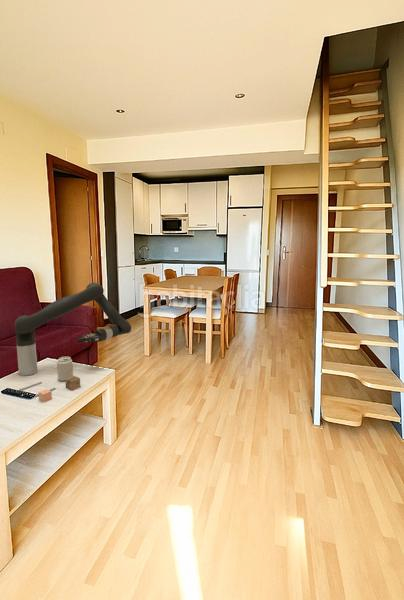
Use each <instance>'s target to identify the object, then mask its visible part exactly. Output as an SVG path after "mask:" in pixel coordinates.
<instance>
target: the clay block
mask: <svg viewBox="0 0 404 600" xmlns="http://www.w3.org/2000/svg"><path fill="white" fill-rule="evenodd" d="M37 393H38V394H39V396H38V401H40V402H42V403H46V402H47V401H50V400H53V396H52V391H50V389H47V388H46V389H43V390H40V391H38V392H37Z"/></svg>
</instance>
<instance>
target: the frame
mask: <svg viewBox="0 0 404 600" xmlns="http://www.w3.org/2000/svg"><path fill="white" fill-rule="evenodd" d="M40 384H43V382H42V381H39V382H36V383H33V384H31V385H28V386H25V387H22V388H20V389H19V388H18V390H19V391H23V392H26V391H25V390H28V389H30V388H33V387H36V386H37V385H40ZM56 389H57V388H56V387H53V388H50V389H49V390H50V391H51V392H52V391H55V390H56ZM19 391H18V392H19ZM34 395H35V396H34ZM34 395H33V396H34V397H35V398H37V397H39V394H37V393H36V394H34ZM34 397H32V398H31V399H34Z"/></svg>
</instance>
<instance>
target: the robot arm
mask: <svg viewBox="0 0 404 600" xmlns="http://www.w3.org/2000/svg"><path fill="white" fill-rule="evenodd" d="M104 290H105V289H104V288H103V286H102V285H101V284H99V283H98V282H91V283H89V284H87V286H86V288H85V289H83V290H81V291H80V292H77V293H74V294H70V295H67V296H64V297H61V298H58V299H56V300H55V301H53V302H51V303H49V304H48V305H46V306H45V307H44V308H42V309H40V310H39V311H37V312H35V313H33V314H29V315H28V314H27V315H26V314H25V315H23V314H22V315H20V316H18V317H17V318H16V319H15V322H14V330H15V340H16V341H15V343H16V353H17V367H18V375H19V376H22V377H23V376H24V377H27V376H33V375H35V374H37V373H38V359H37V348H36V347H37V346H36V334H35V329H36V330H37V328H39V327H41V326H43V325H44V324H45V323H49V322H50V321H53V320H56V319H58V318H60V317H62V316H64V315H66V314H68V313H71V312H72V311H74V310H75V309H77V308H79V307H82V305H85V304H87V303H91V302H92V301H95V302H96V304H97V305H98V306H99V307H100V309H101V310H102V312H103V313H104V314H105V315H106V317H107V318H108V319H109V321H110V322H111V323H112V324H113V325H111V326H107V327H102V328H98V329H95V330H94V331H93V333H89V334H88V333H84V334H83V335H82V336H81V337H80V338H77V344H81V343H92V342H93V343H96V342H97V343H100V342H103V341H104V342H105V341H107V340H110V339H112V338H115V337H118V336H120V335H126V334H129V333H131V331H132V325H131V324H130V322H128V321H127V320H126V319H125V318H124V317H123V316H122V315H121V314H120V313H119V311H118V310H117V309H116V308H115V307H114V306H113V304H112V303H111V302H110V301H109V299H107V297H106V296H105V294H104V292H105V291H104Z"/></svg>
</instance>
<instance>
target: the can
mask: <svg viewBox="0 0 404 600" xmlns="http://www.w3.org/2000/svg"><path fill="white" fill-rule="evenodd" d="M56 367H57V379H58V380H59V381H60V382H65V379H67V378H69V377H72V376H74V369H73V359H72V358H71V356H60V357H59V358H58V360H57V361H56Z"/></svg>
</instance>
